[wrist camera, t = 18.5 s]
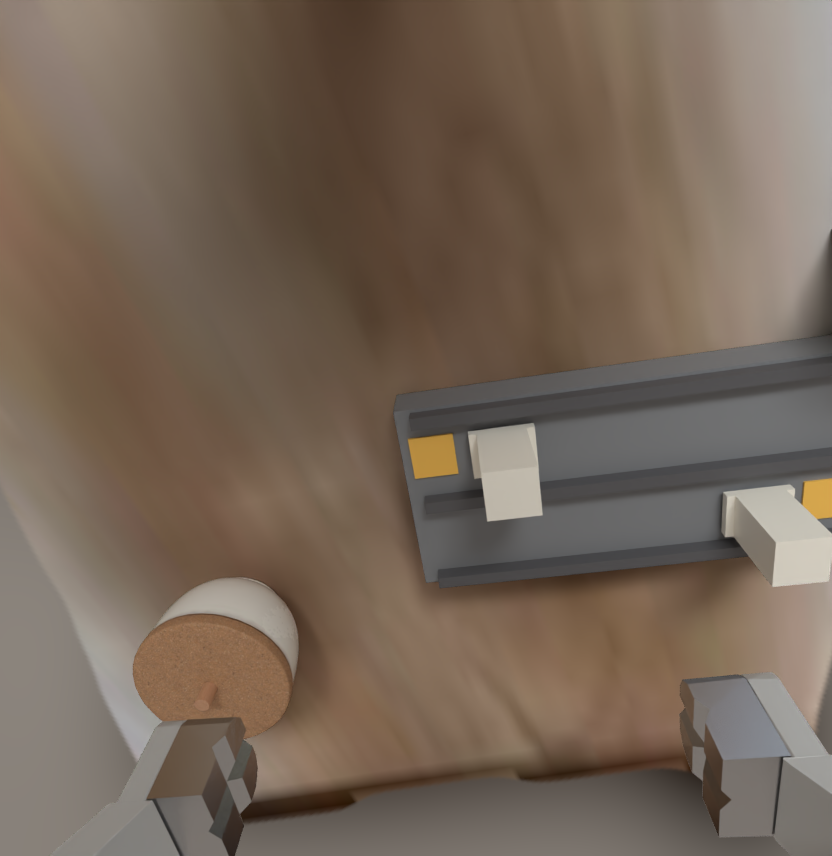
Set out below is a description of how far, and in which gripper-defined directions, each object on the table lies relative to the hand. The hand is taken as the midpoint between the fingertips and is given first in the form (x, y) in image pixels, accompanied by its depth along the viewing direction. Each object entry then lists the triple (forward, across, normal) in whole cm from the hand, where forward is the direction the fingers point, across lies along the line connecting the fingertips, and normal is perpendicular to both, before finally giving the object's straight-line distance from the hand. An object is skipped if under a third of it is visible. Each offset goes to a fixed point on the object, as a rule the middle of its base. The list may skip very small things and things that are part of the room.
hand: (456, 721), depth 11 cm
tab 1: (+26, -2, +7) cm, 27 cm away
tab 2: (+26, -18, +14) cm, 34 cm away
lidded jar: (+29, +19, +20) cm, 40 cm away
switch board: (+29, -10, +10) cm, 32 cm away
